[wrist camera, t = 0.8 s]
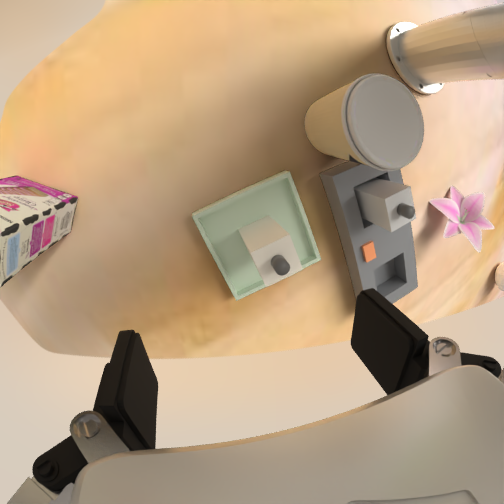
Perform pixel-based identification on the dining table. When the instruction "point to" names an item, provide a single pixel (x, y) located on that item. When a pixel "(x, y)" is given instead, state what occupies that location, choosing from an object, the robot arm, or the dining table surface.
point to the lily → (464, 215)
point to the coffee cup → (368, 123)
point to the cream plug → (270, 250)
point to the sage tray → (245, 212)
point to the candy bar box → (30, 222)
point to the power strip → (370, 235)
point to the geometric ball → (500, 276)
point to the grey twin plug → (385, 203)
